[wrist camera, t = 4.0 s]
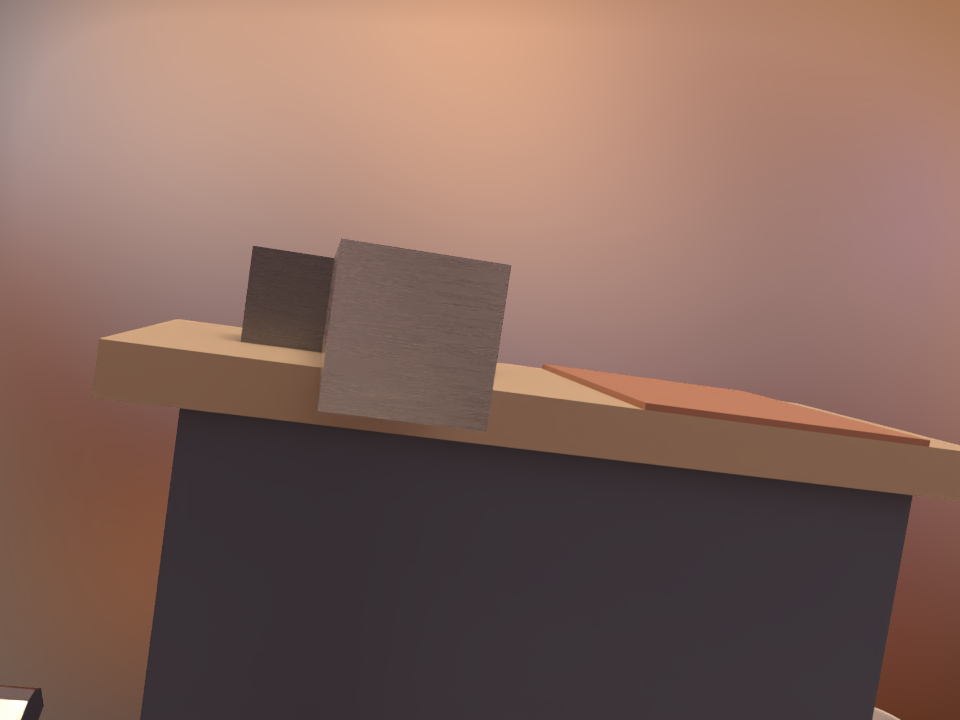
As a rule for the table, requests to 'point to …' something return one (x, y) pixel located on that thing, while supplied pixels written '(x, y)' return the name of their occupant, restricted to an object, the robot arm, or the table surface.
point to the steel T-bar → (386, 328)
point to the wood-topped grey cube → (514, 546)
